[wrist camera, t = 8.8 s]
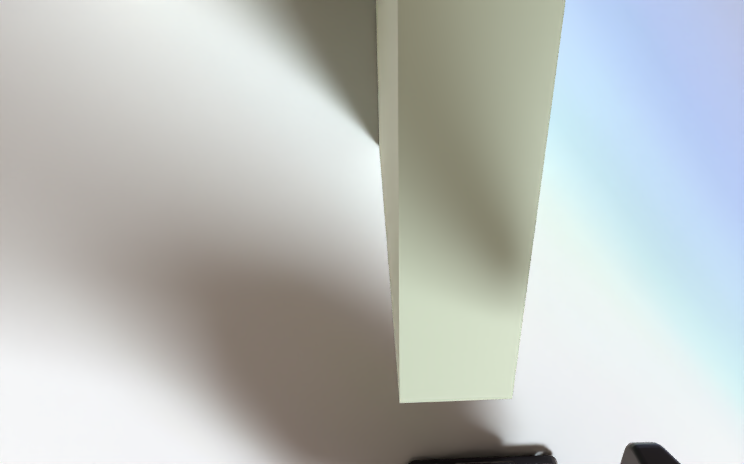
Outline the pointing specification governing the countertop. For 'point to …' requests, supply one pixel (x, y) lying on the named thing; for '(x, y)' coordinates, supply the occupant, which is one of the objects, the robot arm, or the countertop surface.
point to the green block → (462, 183)
